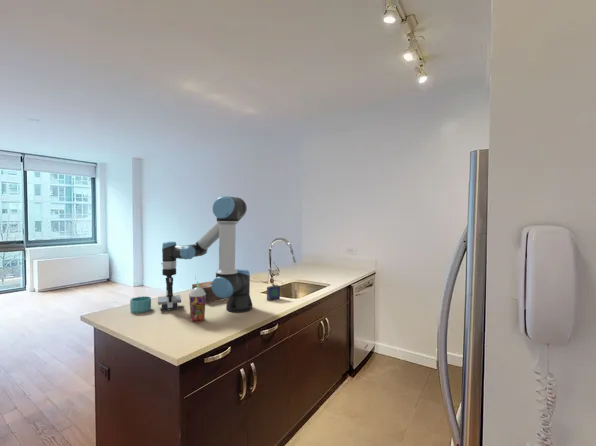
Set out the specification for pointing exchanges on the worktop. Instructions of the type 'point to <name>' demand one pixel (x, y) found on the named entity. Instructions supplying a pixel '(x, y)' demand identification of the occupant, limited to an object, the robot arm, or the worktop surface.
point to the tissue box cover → (208, 291)
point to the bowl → (140, 304)
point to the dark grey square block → (164, 307)
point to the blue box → (273, 292)
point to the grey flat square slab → (164, 300)
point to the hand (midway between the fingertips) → (169, 304)
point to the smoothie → (197, 304)
